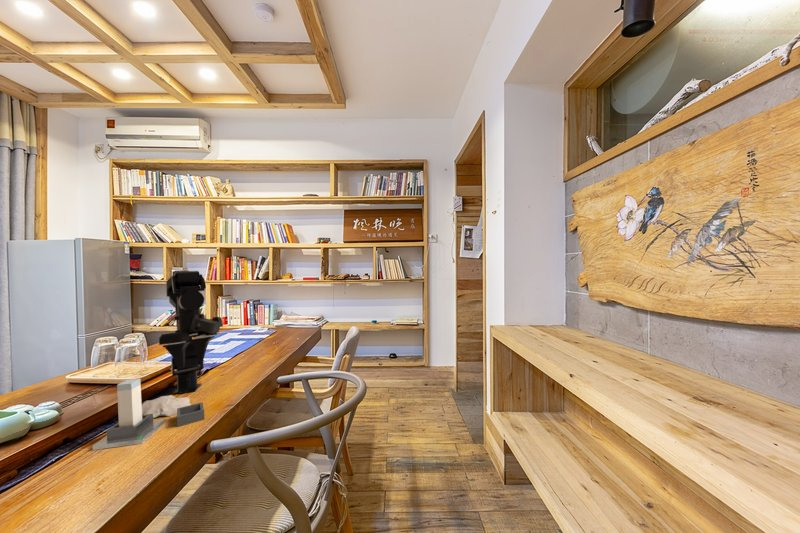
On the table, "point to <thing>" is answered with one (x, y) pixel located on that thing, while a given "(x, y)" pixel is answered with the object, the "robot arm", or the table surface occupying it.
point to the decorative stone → (164, 406)
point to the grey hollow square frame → (190, 414)
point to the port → (129, 433)
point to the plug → (129, 402)
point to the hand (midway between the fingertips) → (192, 363)
